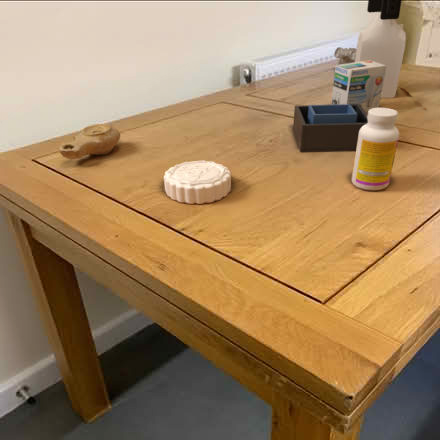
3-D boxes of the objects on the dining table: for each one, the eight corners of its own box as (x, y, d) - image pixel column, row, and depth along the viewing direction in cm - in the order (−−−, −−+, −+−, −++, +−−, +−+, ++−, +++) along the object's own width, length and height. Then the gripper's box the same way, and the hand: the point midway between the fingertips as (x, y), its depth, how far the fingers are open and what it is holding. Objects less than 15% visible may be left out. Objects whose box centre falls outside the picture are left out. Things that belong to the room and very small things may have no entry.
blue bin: (346, 131, 106) (350, 104, 102) (352, 142, 100) (357, 114, 96) (306, 132, 106) (308, 105, 102) (310, 143, 100) (313, 114, 96)
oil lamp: (59, 168, 94) (53, 144, 91) (79, 143, 106) (75, 120, 102) (111, 168, 94) (107, 143, 91) (126, 142, 105) (122, 120, 102)
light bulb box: (344, 117, 115) (351, 70, 109) (329, 109, 120) (334, 64, 114) (379, 110, 119) (387, 64, 112) (362, 104, 124) (370, 59, 117)
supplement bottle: (394, 191, 83) (410, 116, 75) (357, 193, 82) (370, 118, 74) (380, 175, 88) (395, 104, 80) (346, 177, 88) (357, 106, 80)
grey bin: (355, 129, 108) (359, 104, 105) (370, 150, 98) (374, 123, 94) (292, 130, 109) (294, 105, 105) (300, 152, 98) (302, 125, 95)
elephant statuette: (364, 70, 152) (368, 44, 148) (359, 79, 144) (363, 52, 139) (336, 68, 155) (339, 43, 150) (329, 77, 146) (332, 50, 142)
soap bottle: (355, 99, 127) (373, -22, 110) (350, 91, 133) (366, -25, 116) (396, 99, 126) (420, -23, 109) (389, 91, 132) (411, -26, 116)
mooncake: (188, 171, 91) (187, 153, 89) (242, 183, 86) (242, 164, 84) (151, 196, 83) (149, 177, 81) (209, 210, 78) (208, 190, 76)
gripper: (440, -110, 70) (417, 21, 81) (405, -103, 84) (389, 8, 94) (389, -106, 70) (373, 23, 81) (363, -100, 84) (352, 10, 95)
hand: (382, 15), depth 88 cm, fingers open, 9 cm apart
